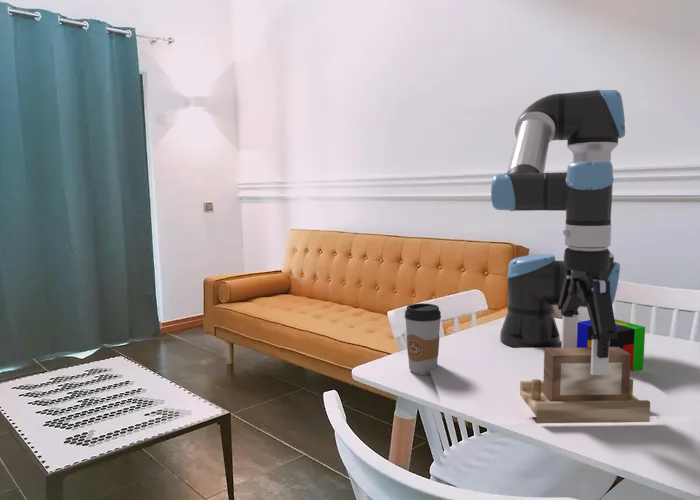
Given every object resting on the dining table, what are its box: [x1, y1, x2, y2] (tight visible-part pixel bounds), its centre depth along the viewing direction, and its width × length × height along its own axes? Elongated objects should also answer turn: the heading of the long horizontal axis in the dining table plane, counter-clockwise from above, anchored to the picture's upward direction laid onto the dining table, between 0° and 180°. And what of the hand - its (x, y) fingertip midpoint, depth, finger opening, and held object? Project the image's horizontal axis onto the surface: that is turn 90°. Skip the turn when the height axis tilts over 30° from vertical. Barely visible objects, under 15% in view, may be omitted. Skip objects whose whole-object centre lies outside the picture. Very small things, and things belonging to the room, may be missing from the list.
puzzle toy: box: [577, 318, 646, 373], centre depth 124 cm, size 10×10×10 cm
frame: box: [543, 347, 631, 402], centre depth 100 cm, size 14×4×9 cm, turn 89°
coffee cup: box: [404, 302, 442, 376], centre depth 123 cm, size 8×8×15 cm
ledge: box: [519, 378, 651, 424], centre depth 101 cm, size 10×20×6 cm, turn 89°
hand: (583, 360), depth 100 cm, fingers open, 13 cm apart
